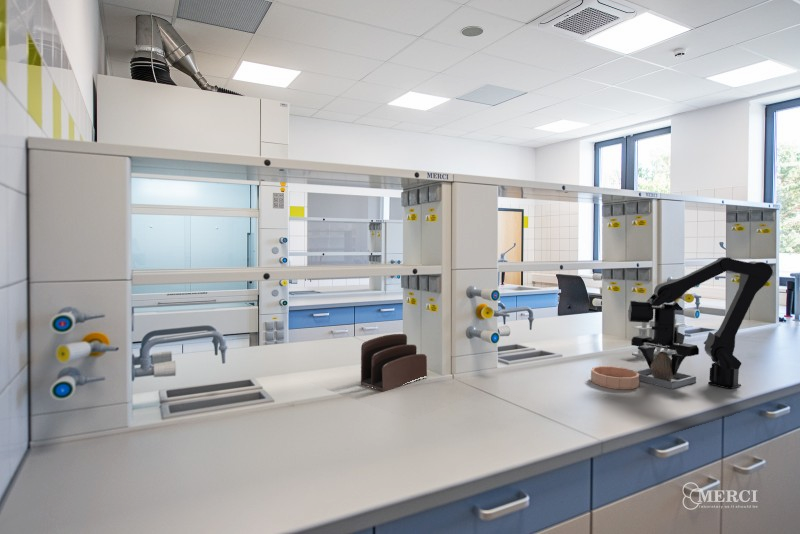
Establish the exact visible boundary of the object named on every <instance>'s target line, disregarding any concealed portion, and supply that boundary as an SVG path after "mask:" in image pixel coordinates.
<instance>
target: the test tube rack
mask: <svg viewBox="0 0 800 534" xmlns="http://www.w3.org/2000/svg"><path fill="white" fill-rule="evenodd" d="M652 326H654V319H653V320H650V321H649V324H648V323H646V322H641V325H639V326H638V325H637V326H633V327H632V328H633V329H637V330H638V336H640V335H642V336H648V337H651V338H652V339H654V330H652ZM680 326H685V323H682V322H681V323H680V322H677V318H676V317H675V327H677V332H679V328H680ZM647 331H648V332H647ZM647 333H648V335H647ZM674 344H676V343H674ZM676 345H679V344H678V343H677V344H676ZM637 350H638V351H637V352H636V351H635V352H632V353H631V354H632V356H636V357H639V358H640V357H641V358H645V357H644V355H643V354H642V352H641V350H640V349H637ZM659 352H666V353H668V354H673V353H676V351H675V350H670V349H665V348H660V347H656V348H655V351H654V356H657V355H658V354H659Z"/></svg>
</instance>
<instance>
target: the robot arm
mask: <svg viewBox="0 0 800 534" xmlns="http://www.w3.org/2000/svg"><path fill="white" fill-rule="evenodd" d="M725 272H731V273H732V272H733V273H735V274H740V275H739V281H738V282H739V283H738V289H737V291H736V293H735V295H734V298H733V299H732V302H731V303H730V305H729V308H728V310H727V312H726V313H725V316H724V318H723V320H722V322H721V324H720V326H719V328H718V329H717V330H716V331H715V332H714V333H712V332H710V331H708V334H707V338H706V339H705V341H704V342H703V344H704V352H705V354H707V355H708V357H710V358H711V361H712V362H713V363H711V367H709V376H708V377H709V378H708V379H709V381H708V384H709V385H714V386H718V387H721V388H726V389H729V390H731V389H735V388H737V387H741V383H739V373H740V372H739V370H740V368H741V366H742V362H741V361H740V360H739V359H738V358H737V357H736V356H735V355H734V351H735V348H736V347H735V346H736V335H737V334H738V331H739V329H740V327H741V325H742V323H743V322H744V319H745V317H746V314H747V313H748V311H749V309H750V307H751V304H752V302H753V300H754V299H755V296H756V294H758V292H759V291H760V290H761V289H762V288H763V287H764V286H766V284H767V283H768V282H769V280H771V277H772V276H773V273H774V271H773V268H772V266H771V265H769V263H767V262H764V261H755V260H752V261H751V260H750V261H748V262H747V261H743V260H739V259H733V258H731V257H727V256H726V257H725V256H721V257H718V258H717V259H716V260H714V261H713V262H710V263H708V264H707V265H704V266H702V267H700V268H698V269H696V270H694V271H692V272H690V273H688V274H685V275H684V276H682V277H680V278H676V279H671V280H668V281H665V282H662V283H659V284H657V285H656V286H655V287H654V288H653V289H654V290H653V294H651V296H650V297H649V298H648V299H647V300H646V301H640V300H639V301H637V300H630V301H629V307H628V309H627V310H628V312H627V313H628V315H627V316H628V317H627V318H628V322H629V323H642V322H646V323H647V324H648V323H649V324H650V320H653V321H654V326H652V330H654V339H652V338H651V337H649V335H647V336H642V334H641V335H640V336H639V335H635V336H633V337H632V338H631V340H630V341H631V346H635V347H637V350H639V349H640V350H641V352H642V354H643V355H644V357H643V358H644V359H645V361H646V363H647V366H648V368H650V369H651V363H652V361H653V359H654V358H655V357H654V356H655V355H654V351H655V350H656V347H660V348H661V349H663V348H665V349H670V350H675V351H676V352H674V353H671V360H672V373H673V375H676V373H677V372H679V369H680V366H681V364H682V362H683V361H684V360H685V358H686V357H693V356H697V355H699V354H700V348H699V347H698V345H696V344H692V343H684V340H685V337H686V335H685V334H683V333H681V332H679V331H678V332H677V327H675V318H676V311H683V310H684V308H683V307H682V306H681V305H679V303H678V302H677V300H678V299H680V298H681V297H682V296H683V295H684V294H686V293H687V292H688V291H689V290H691V289H692V288H694V287H696V286H698V285H701V284H702V283H704V282H707V281H709V280H711V279H713V278H715V277H717V276H719V275H721V274H723V273H725ZM671 303H672V304H671ZM674 343H676V344H677V343H678V345H676V344H674Z"/></svg>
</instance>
